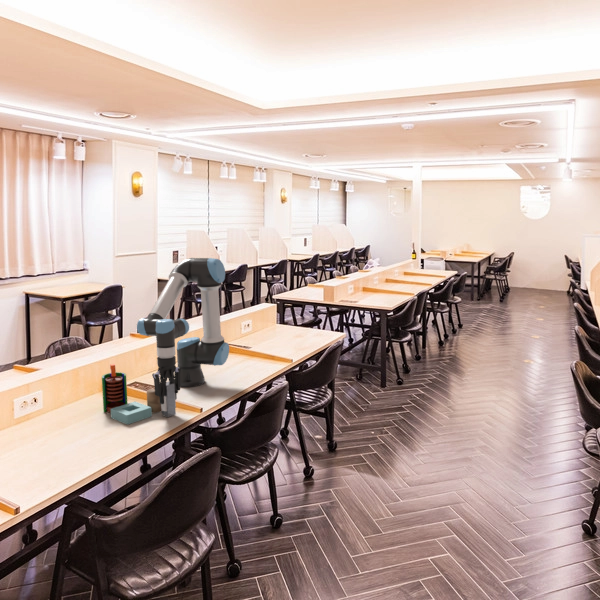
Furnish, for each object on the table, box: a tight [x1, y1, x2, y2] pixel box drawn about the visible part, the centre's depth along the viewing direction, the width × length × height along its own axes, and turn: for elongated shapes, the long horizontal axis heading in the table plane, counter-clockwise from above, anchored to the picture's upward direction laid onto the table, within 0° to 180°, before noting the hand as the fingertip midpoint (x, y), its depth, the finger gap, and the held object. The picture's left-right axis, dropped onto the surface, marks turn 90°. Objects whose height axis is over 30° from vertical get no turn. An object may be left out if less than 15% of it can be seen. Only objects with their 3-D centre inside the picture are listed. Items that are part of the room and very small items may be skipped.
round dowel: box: [146, 388, 162, 414], centre depth 235 cm, size 6×6×9 cm
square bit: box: [161, 381, 177, 418], centre depth 229 cm, size 4×4×14 cm
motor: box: [101, 363, 128, 414], centre depth 236 cm, size 10×9×20 cm
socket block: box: [110, 401, 153, 425], centre depth 228 cm, size 12×12×4 cm
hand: (168, 408), depth 229 cm, fingers closed on square bit, 4 cm apart
